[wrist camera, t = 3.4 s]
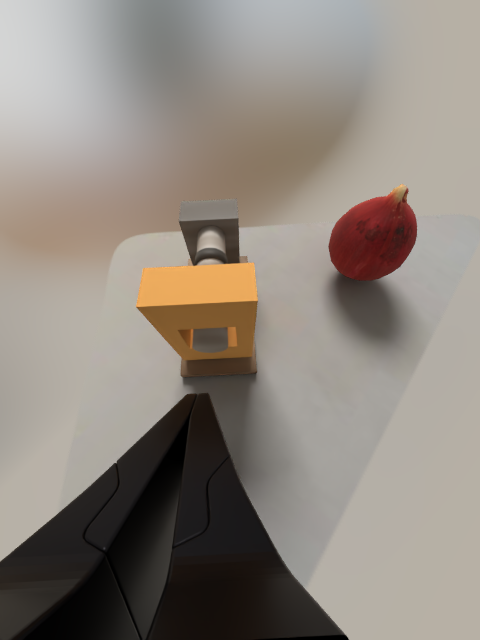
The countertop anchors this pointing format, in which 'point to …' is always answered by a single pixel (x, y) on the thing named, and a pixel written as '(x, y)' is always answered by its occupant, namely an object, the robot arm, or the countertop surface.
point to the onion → (374, 237)
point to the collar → (201, 305)
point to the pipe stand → (211, 249)
